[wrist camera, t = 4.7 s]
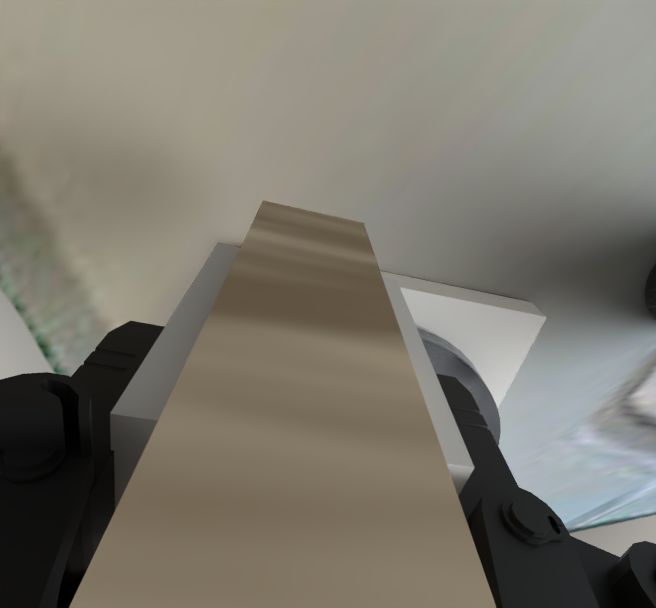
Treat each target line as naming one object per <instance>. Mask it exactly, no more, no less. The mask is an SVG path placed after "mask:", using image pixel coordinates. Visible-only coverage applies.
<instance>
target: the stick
mask: <svg viewBox="0 0 656 608" xmlns="http://www.w3.org/2000/svg"><path fill="white" fill-rule="evenodd" d="M69 608H496V605H495V602H494V599H493V596H492V593H491V590H490V587H489V585H488V582H487V579H486V576H485V573H484V570H483V567H482V564H481V561H480V559H479V556H478V553H477V550H476V547H475V544H474V541H473V538H472V535H471V533H470V530H469V527H468V524H467V521H466V518H465V515H464V512H463V509H462V507H461V504H460V501H459V498H458V495H457V492H456V489H455V486H454V483H453V481H452V478H451V475H450V472H449V469H448V466H447V463H446V460H445V457H444V454H443V452H442V449H441V446H440V443H439V440H438V437H437V434H436V431H435V428H434V426H433V423H432V420H431V417H430V414H429V411H428V408H427V405H426V402H425V400H424V397H423V394H422V391H421V388H420V385H419V382H418V379H417V376H416V374H415V371H414V368H413V365H412V362H411V359H410V356H409V353H408V350H407V348H406V345H405V342H404V339H403V336H402V333H401V330H400V327H399V324H398V322H397V319H396V316H395V313H394V310H393V307H392V304H391V301H390V298H389V296H388V293H387V290H386V287H385V284H384V281H383V278H382V275H381V272H380V270H379V267H378V264H377V261H376V258H375V255H374V252H373V249H372V246H371V244H370V241H369V238H368V235H367V232H366V229H365V226H364V223H361V222H357V221H352V220H348V219H343V218H339V217H334V216H330V215H325V214H321V213H316V212H312V211H307V210H303V209H298V208H294V207H289V206H285V205H280V204H276V203H271V202H267V201H263V202H262V204H261V206H260V208H259V210H258V212H257V215H256V217H255V219H254V221H253V223H252V225H251V227H250V229H249V231H248V233H247V236H246V238H245V240H244V242H243V244H242V246H241V248H240V250H239V252H238V254H237V256H236V259H235V261H234V263H233V265H232V267H231V269H230V271H229V273H228V275H227V277H226V280H225V282H224V284H223V286H222V288H221V290H220V292H219V294H218V296H217V298H216V300H215V303H214V305H213V307H212V309H211V311H210V313H209V315H208V317H207V319H206V321H205V324H204V326H203V328H202V330H201V332H200V334H199V336H198V338H197V340H196V342H195V345H194V347H193V349H192V351H191V353H190V355H189V357H188V359H187V361H186V363H185V365H184V368H183V370H182V372H181V374H180V376H179V378H178V380H177V382H176V384H175V386H174V389H173V391H172V393H171V395H170V397H169V399H168V401H167V403H166V405H165V407H164V409H163V412H162V414H161V416H160V418H159V420H158V422H157V424H156V426H155V428H154V430H153V433H152V435H151V437H150V439H149V441H148V443H147V445H146V447H145V449H144V451H143V454H142V456H141V458H140V460H139V462H138V464H137V466H136V468H135V470H134V472H133V474H132V477H131V479H130V481H129V483H128V485H127V487H126V489H125V491H124V493H123V495H122V498H121V500H120V502H119V504H118V506H117V508H116V510H115V512H114V514H113V516H112V518H111V521H110V523H109V525H108V527H107V529H106V531H105V533H104V535H103V537H102V539H101V542H100V544H99V546H98V548H97V550H96V552H95V554H94V556H93V558H92V560H91V563H90V565H89V567H88V569H87V571H86V573H85V575H84V577H83V579H82V581H81V583H80V586H79V588H78V590H77V592H76V594H75V596H74V598H73V600H72V602H71V604H70V607H69Z"/></svg>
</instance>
